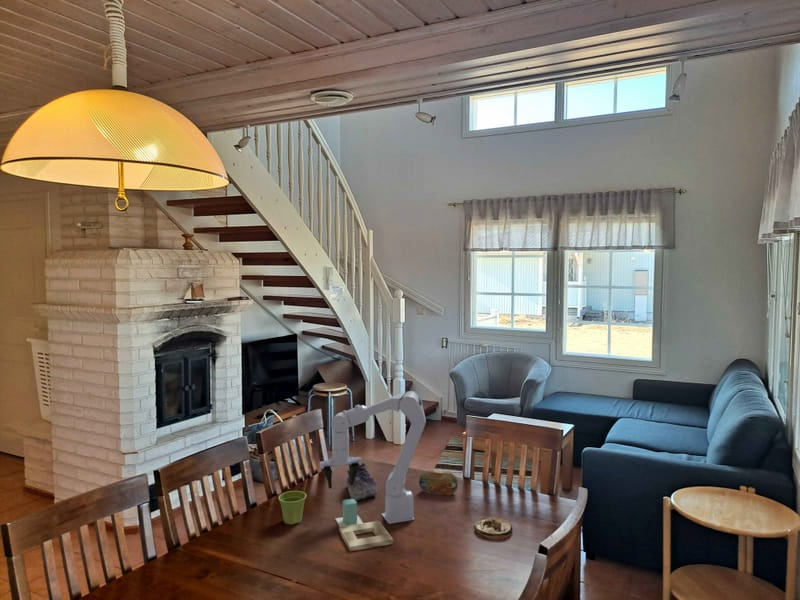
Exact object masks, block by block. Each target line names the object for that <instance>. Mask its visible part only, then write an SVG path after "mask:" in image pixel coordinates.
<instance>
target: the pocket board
mask: <svg viewBox="0 0 800 600" xmlns="http://www.w3.org/2000/svg"><path fill="white" fill-rule="evenodd" d="M338 533H339V534H340V537H341V538H342V540H343V541H344V543H345V546H347V549H348V550H349V552H355V551H360V550H364V549H370V548H377V547H381V546H382V547H383V546H389V545H393V544H394V539H393V537H392V536H391V534H390V533H389V532H388V531H387V529H386V528H385V526H384V525H383V524H382V522H381V521H380V520H375V521H370V522H369V521H368V522H363V523H362V524H356V525H350V526H343V527H339V526H338ZM366 533H373V534H374V536H367V537H362V538H358V537H357V535H360V534H366Z"/></svg>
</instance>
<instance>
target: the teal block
mask: <svg viewBox="0 0 800 600" xmlns="http://www.w3.org/2000/svg"><path fill="white" fill-rule="evenodd" d="M357 515H358V502H357V501H355V499H351V498H350V499H349V498H348V499H342V517H343V521H344V523H345V525H350V524H357Z"/></svg>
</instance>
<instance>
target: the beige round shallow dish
mask: <svg viewBox="0 0 800 600" xmlns="http://www.w3.org/2000/svg"><path fill="white" fill-rule="evenodd" d="M473 528H474V529H475V532H476V535H477V536H478V537H481V538H483V539H486V540H490V539H492V540H500V539H501V540H503V539H506V538H509V537H510V536H512V535H513V526H512V524H511V523H510V521H508V520H505V519H501V518H496V517H480V519H478V520H477V521H475V523H474V526H473ZM511 534H512V535H511Z"/></svg>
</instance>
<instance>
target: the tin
mask: <svg viewBox="0 0 800 600" xmlns="http://www.w3.org/2000/svg"><path fill="white" fill-rule="evenodd" d="M458 481H459V480H458V479H457V477H456V475H455V474H453V473H452V472H448V471H447V472H446V471H438V470H437V471H436V470H426V471H425V472H423V473H422V474H420V477H419V478H418V484H419V487H420V489H421V490H422V492H424V493H426V494H429V493H430V495H431V494H432V495H441V496H452V495H454V494H455V492H456V491H457V489H458V486H459V482H458Z"/></svg>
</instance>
